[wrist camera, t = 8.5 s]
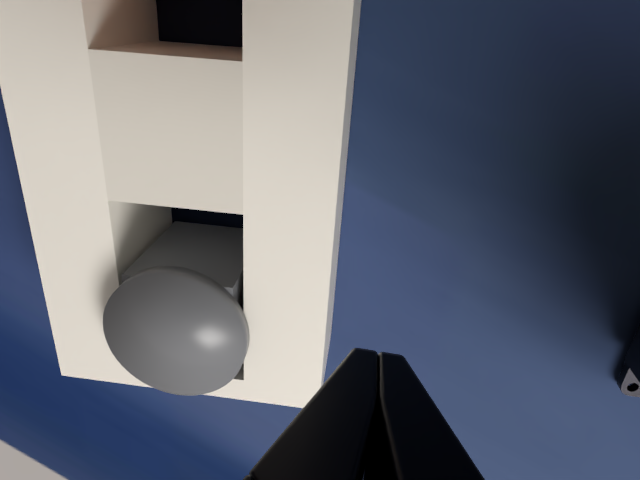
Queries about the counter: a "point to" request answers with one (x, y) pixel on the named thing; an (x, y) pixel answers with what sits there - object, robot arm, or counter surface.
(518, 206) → the counter surface
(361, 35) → the counter surface
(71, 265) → the tray
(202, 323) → the charcoal plunger
